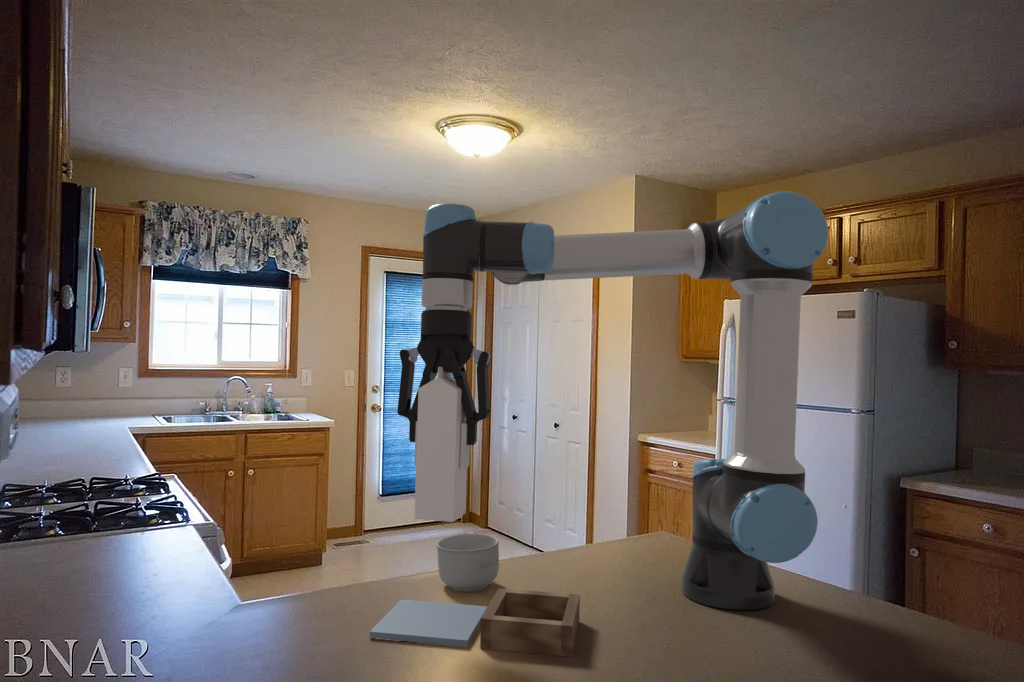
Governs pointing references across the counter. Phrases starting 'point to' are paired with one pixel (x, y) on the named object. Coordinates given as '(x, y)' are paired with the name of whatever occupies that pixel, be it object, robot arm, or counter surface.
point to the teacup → (468, 561)
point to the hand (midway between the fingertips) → (442, 465)
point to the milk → (440, 451)
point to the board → (430, 623)
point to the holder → (531, 622)
